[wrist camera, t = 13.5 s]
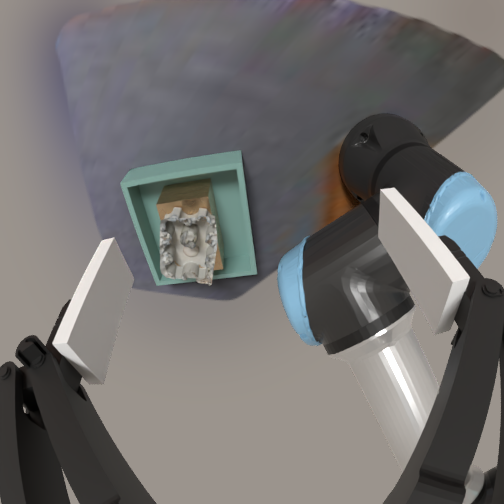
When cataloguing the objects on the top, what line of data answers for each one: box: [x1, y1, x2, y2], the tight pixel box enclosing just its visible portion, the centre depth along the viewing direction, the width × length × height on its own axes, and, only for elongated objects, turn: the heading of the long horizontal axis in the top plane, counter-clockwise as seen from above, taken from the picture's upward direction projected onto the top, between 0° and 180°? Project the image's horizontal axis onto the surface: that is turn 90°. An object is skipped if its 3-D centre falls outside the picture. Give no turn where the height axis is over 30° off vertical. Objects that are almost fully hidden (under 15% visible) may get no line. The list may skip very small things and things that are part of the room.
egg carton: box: [160, 207, 218, 286], centre depth 42 cm, size 11×8×4 cm
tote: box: [120, 150, 257, 286], centre depth 47 cm, size 17×19×5 cm
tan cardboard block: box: [156, 178, 224, 270], centre depth 45 cm, size 7×12×6 cm, turn 6°
